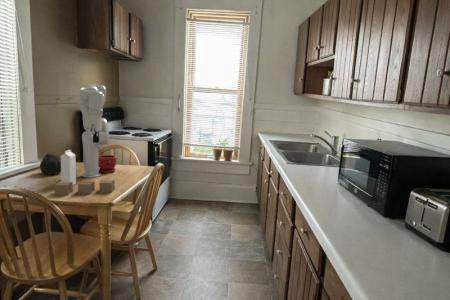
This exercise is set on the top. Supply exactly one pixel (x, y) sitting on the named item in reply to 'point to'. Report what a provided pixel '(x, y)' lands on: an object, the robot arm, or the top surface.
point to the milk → (68, 167)
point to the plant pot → (107, 163)
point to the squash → (50, 164)
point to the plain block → (86, 187)
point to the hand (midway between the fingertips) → (96, 142)
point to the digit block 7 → (107, 186)
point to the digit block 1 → (63, 188)
